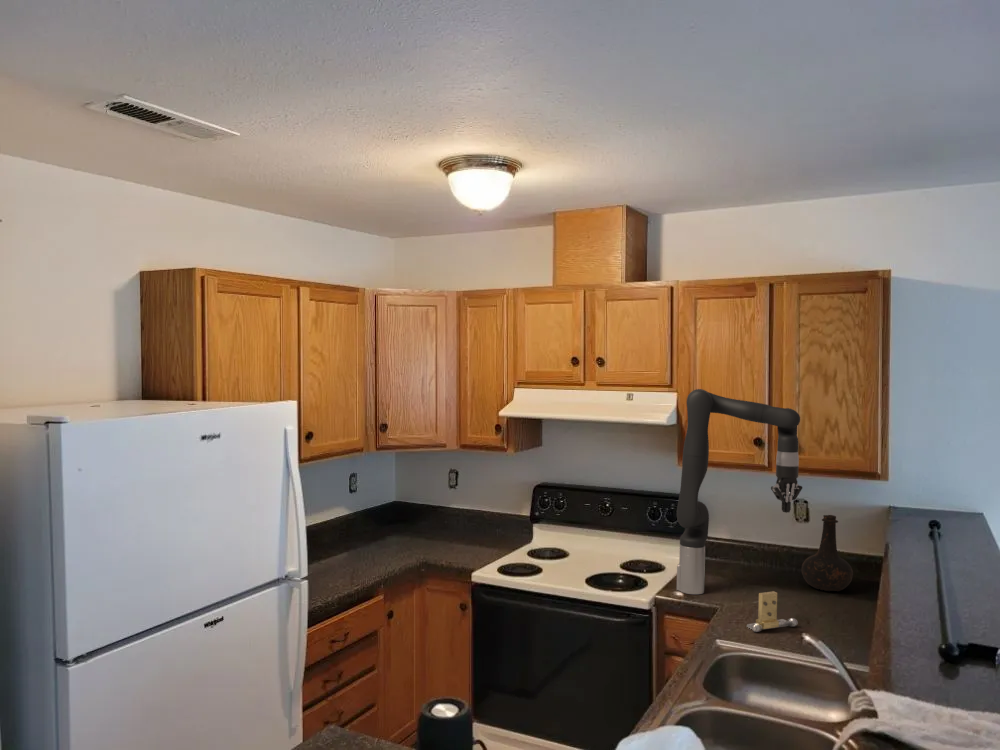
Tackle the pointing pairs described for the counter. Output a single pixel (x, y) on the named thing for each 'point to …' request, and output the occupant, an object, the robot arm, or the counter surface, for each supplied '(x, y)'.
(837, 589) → the glass bottle
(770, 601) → the yellow bracket with holes
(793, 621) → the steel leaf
